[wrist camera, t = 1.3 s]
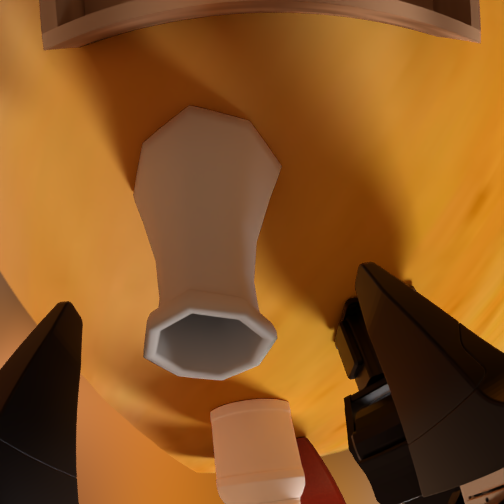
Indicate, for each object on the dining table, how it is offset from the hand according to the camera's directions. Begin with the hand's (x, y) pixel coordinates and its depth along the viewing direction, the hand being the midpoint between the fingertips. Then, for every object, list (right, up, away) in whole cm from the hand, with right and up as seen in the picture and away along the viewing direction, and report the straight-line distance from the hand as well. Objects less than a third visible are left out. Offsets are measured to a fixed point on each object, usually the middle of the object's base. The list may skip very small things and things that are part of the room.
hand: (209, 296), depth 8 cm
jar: (+1, -20, +26) cm, 33 cm away
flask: (-1, +5, +6) cm, 8 cm away
